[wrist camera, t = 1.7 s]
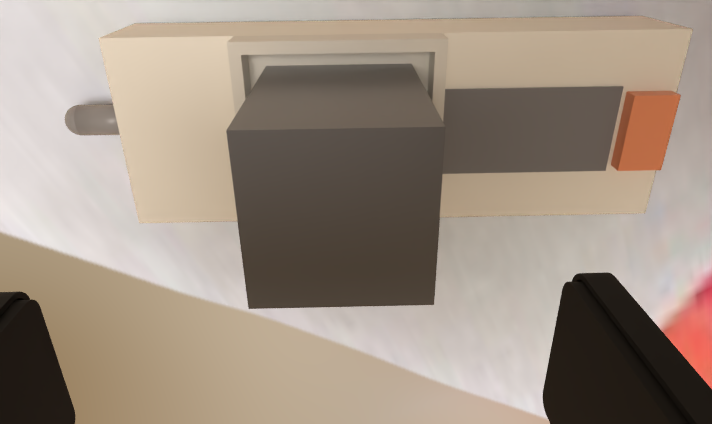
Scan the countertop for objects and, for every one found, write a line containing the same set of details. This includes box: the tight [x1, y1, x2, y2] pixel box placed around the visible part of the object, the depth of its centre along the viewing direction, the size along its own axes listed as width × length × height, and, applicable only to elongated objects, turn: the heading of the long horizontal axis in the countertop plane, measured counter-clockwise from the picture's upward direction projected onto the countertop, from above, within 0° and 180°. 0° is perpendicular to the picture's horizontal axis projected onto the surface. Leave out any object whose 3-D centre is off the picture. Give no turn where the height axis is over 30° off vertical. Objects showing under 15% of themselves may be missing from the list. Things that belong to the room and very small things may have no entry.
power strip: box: [65, 16, 693, 223], centre depth 21 cm, size 23×7×5 cm, turn 91°
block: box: [226, 64, 446, 309], centre depth 17 cm, size 5×5×7 cm
